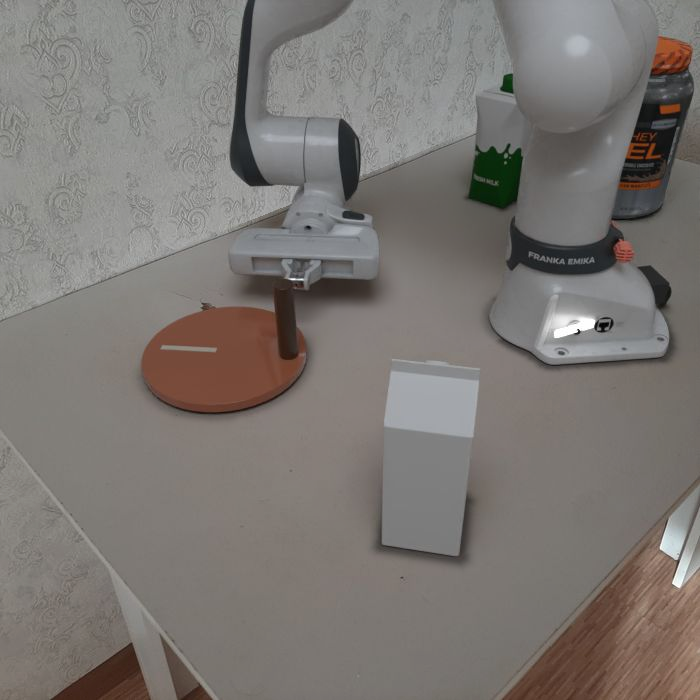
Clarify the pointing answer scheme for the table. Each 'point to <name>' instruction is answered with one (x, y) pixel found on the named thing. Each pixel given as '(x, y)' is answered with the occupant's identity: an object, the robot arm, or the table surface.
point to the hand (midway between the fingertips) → (296, 285)
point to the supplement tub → (656, 131)
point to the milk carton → (427, 454)
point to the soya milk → (499, 145)
